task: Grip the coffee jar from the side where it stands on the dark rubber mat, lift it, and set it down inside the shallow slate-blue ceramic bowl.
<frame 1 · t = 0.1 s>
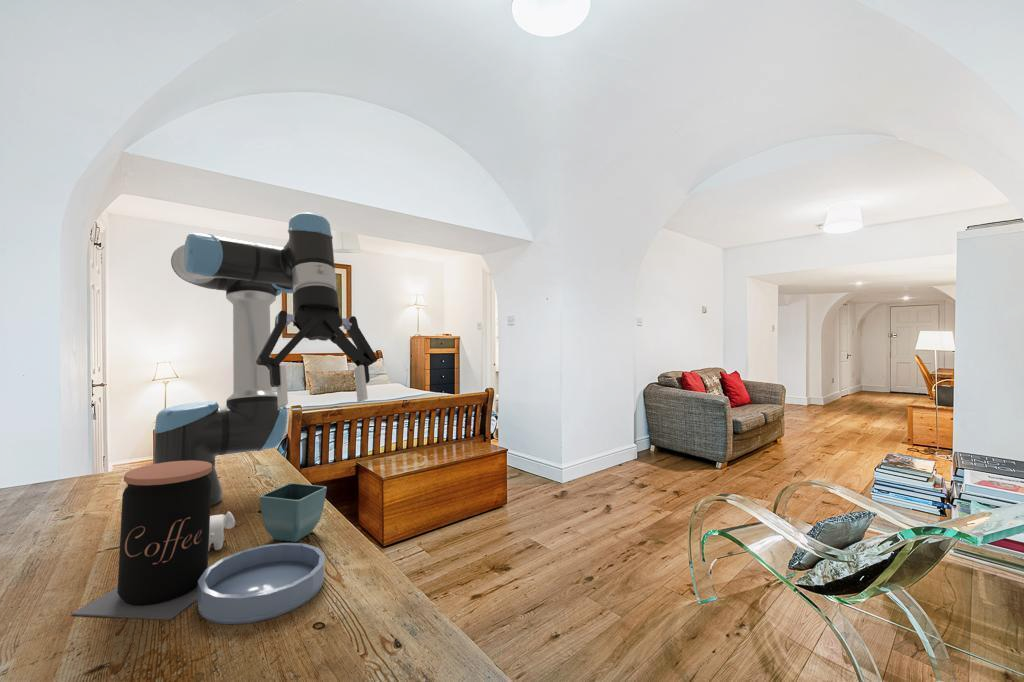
hand: (325, 403, 75), 28 cm above the table, tool tilted 20°, fingers open, 13 cm apart
mat: (164, 589, 65), on the table
flower pot: (292, 537, 85), on the table
coffee jar: (164, 589, 65), resting on mat
elephant figurine: (212, 548, 79), on the table
bowl: (264, 590, 66), on the table
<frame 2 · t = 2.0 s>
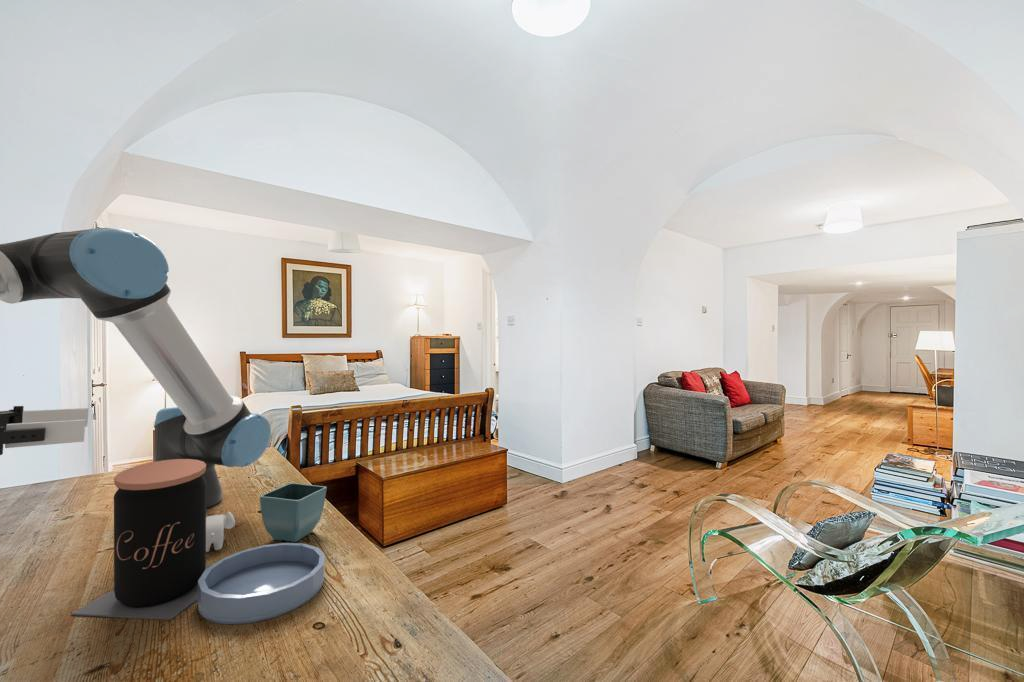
hand: (86, 423, 59), 26 cm above the table, tool horizontal, fingers open, 13 cm apart
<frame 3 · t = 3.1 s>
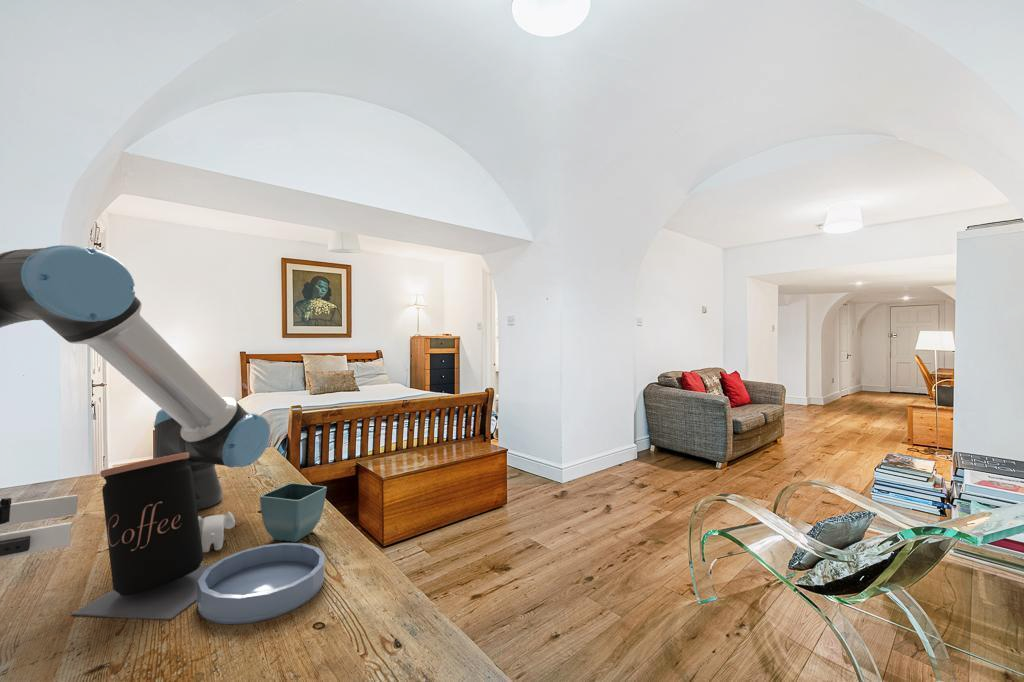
hand: (74, 517, 59), 13 cm above the table, tool horizontal, fingers open, 13 cm apart
coffee jar: (162, 581, 65), point 1 cm above the table, touching mat
everything else where it was.
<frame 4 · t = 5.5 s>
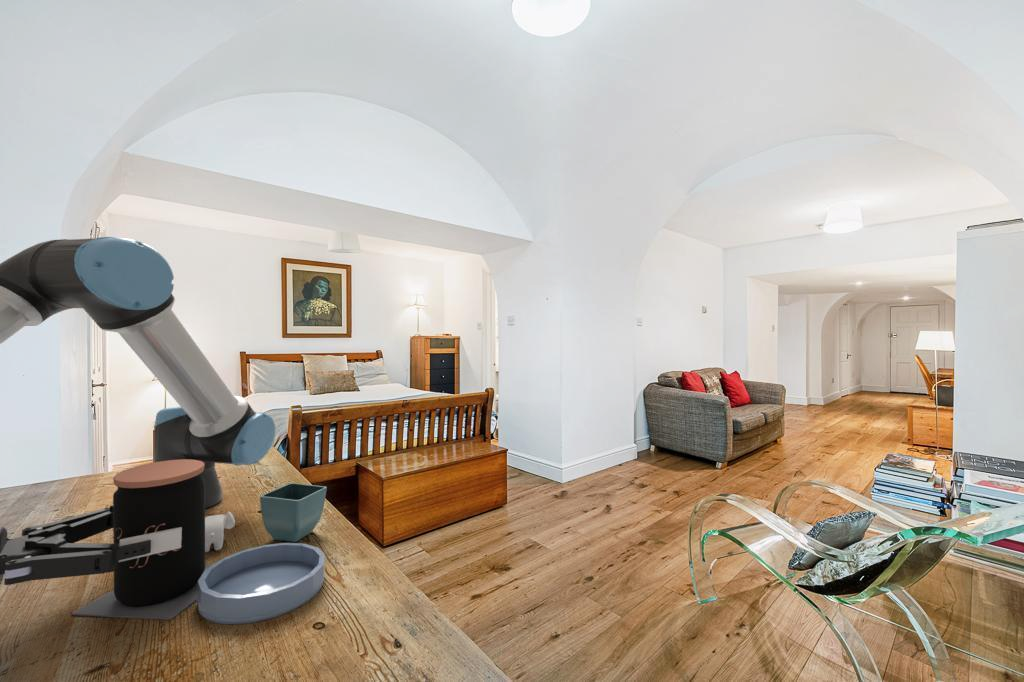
hand: (176, 522, 66), 10 cm above the table, tool horizontal, fingers open, 13 cm apart
coffee jar: (161, 588, 65), resting on mat
everything else where it was.
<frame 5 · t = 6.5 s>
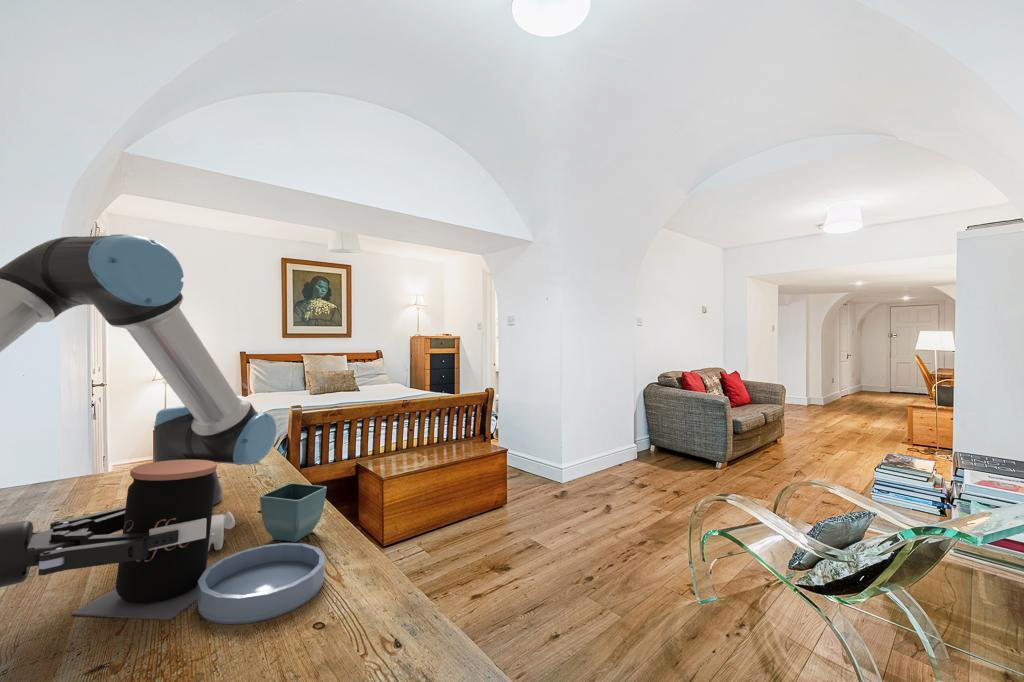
hand: (200, 516, 68), 10 cm above the table, tool horizontal, fingers closed on coffee jar, 11 cm apart
coffee jar: (162, 588, 65), resting on mat, touching gripper
everything else where it was.
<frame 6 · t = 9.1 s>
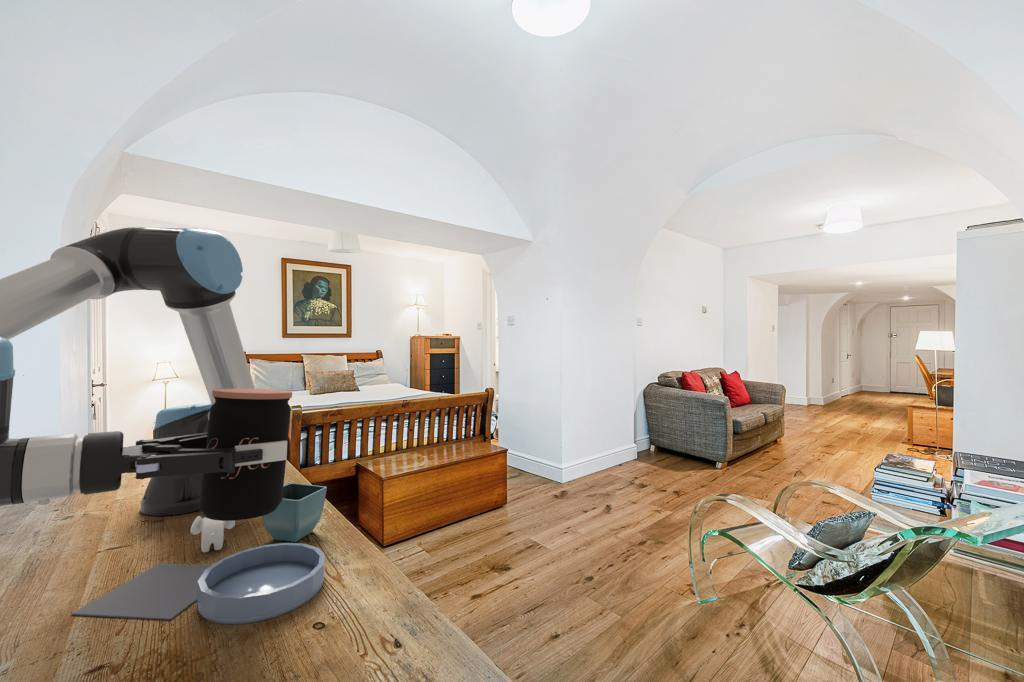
hand: (276, 443, 68), 22 cm above the table, tool horizontal, fingers closed on coffee jar, 11 cm apart
coffee jar: (241, 511, 65), point 12 cm above the table, touching gripper
everything else where it was.
when the fingers open (12 cm above the table, at t = 11.8 s): coffee jar drops 2 cm, resting on bowl.
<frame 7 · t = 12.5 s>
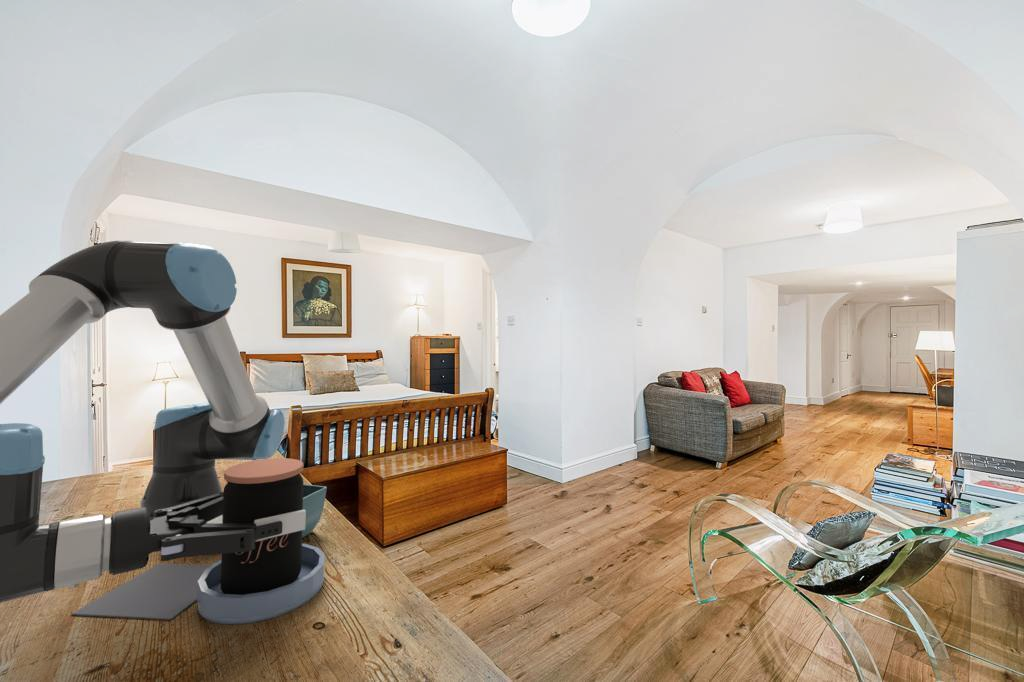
hand: (290, 506, 68), 12 cm above the table, tool horizontal, fingers open, 13 cm apart
coffee jar: (262, 586, 66), point 1 cm above the table, touching bowl
everything else where it was.
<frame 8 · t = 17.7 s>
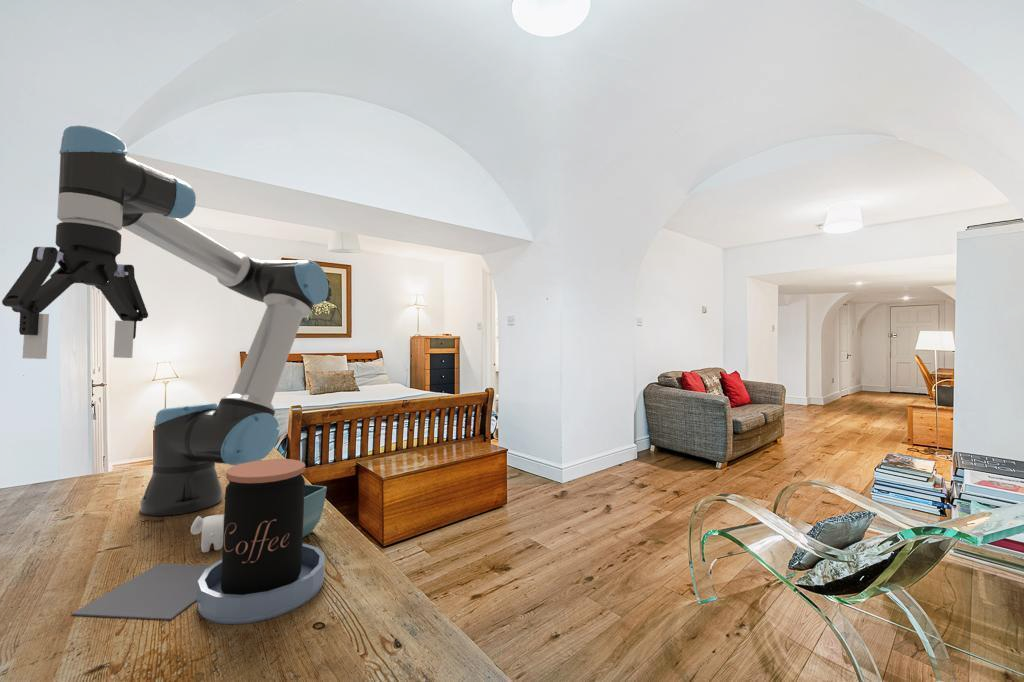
hand: (83, 358, 69), 35 cm above the table, tool pointing down, fingers open, 13 cm apart
nothing on the table moved.
at the end: coffee jar 0.4 cm from the bowl (horizontally); coffee jar tilted 0°; coffee jar point 0.6 cm above the table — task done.
